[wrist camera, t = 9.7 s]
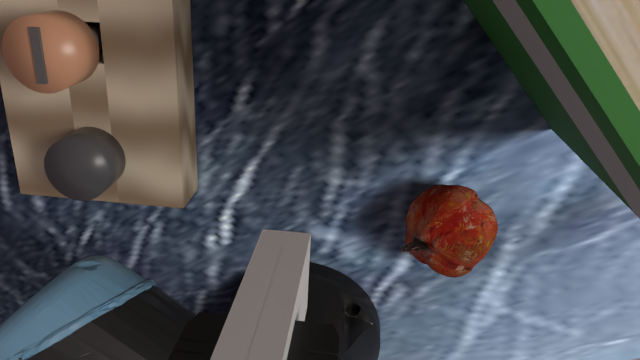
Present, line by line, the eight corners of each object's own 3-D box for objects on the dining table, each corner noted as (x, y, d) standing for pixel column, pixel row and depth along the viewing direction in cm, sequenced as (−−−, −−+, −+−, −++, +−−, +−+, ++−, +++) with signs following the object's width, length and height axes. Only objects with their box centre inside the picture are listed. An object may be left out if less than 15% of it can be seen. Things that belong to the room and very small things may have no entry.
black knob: (147, 169, 48) (111, 203, 41) (92, 164, 48) (49, 197, 42) (142, 114, 46) (104, 141, 39) (85, 110, 46) (39, 136, 40)
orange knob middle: (126, 74, 42) (80, 97, 35) (64, 69, 42) (7, 91, 36) (120, 7, 40) (70, 18, 33) (55, 2, 40) (-8, 13, 34)
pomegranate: (475, 158, 47) (385, 176, 42) (543, 202, 42) (450, 228, 37) (453, 227, 51) (368, 251, 46) (512, 275, 46) (424, 308, 40)
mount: (197, 188, 48) (183, 208, 44) (47, 175, 49) (20, 193, 45) (184, -149, 38) (163, -160, 34) (-7, -158, 39) (-47, -169, 35)
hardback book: (640, 72, 41) (951, 214, 19) (551, 129, 43) (735, 315, 21) (515, -134, 36) (730, -263, 14) (423, -58, 39) (488, -69, 17)
